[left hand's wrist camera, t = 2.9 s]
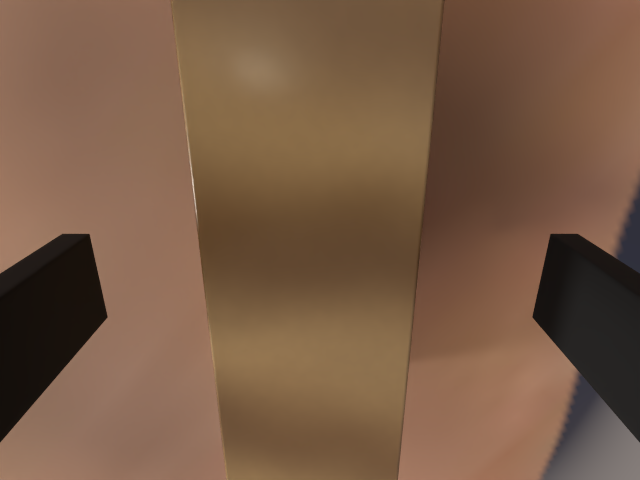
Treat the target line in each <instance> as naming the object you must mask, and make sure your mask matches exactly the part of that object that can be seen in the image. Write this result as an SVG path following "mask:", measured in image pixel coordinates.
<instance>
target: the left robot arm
mask: <svg viewBox="0 0 640 480" xmlns="http://www.w3.org/2000/svg"><path fill="white" fill-rule="evenodd" d="M106 318H107V312H106V308H105V303H104V299H103V294H102V289H101V285H100V280H99V276H98V271H97V267H96V262H95V258H94V253H93V248H92V244H91V239H90V235H89V234H62V235H60V236H58V237H57V238H55V239H54V240H52V241H51V242H49V243H47V244H46V245H44V246H43V247H41V248H40V249H38V250H37V251H35V252H33V253H32V254H30V255H29V256H27V257H26V258H24V259H22V260H21V261H19V262H18V263H16V264H15V265H13V266H11V267H10V268H8V269H7V270H5V271H4V272H2V273H0V442H1V441H2V440H3V439H4V437H5V436H6V435H7V434H8V433H9V432H10V430H11V429H12V428H13V427H14V426H15V425H16V423H17V422H18V421H19V420H20V419H21V418H22V416H23V415H24V414H25V413H26V412H27V411H28V409H29V408H30V407H31V406H32V405H33V404H34V402H35V401H36V400H37V399H38V398H39V397H40V395H41V394H42V393H43V392H44V391H45V390H46V388H47V387H48V386H49V385H50V384H51V383H52V381H53V380H54V379H55V378H56V377H57V376H58V374H59V373H60V372H61V371H62V370H63V369H64V367H65V366H66V365H67V364H68V363H69V362H70V360H71V359H72V358H73V357H74V356H75V355H76V353H77V352H78V351H79V350H80V349H81V348H82V346H83V345H84V344H85V343H86V342H87V341H88V339H89V338H90V337H91V336H92V335H93V334H94V332H95V331H96V330H97V329H98V328H99V327H100V325H101V324H102V323H103V322H104V321H105V320H106ZM533 318H534V320H535V321H536V322H537V323H538V324H539V325H540V327H541V328H542V329H543V330H544V331H545V332H546V334H547V335H548V336H549V337H550V338H551V339H552V341H553V342H554V343H555V344H556V345H557V346H558V348H559V349H560V350H561V351H562V352H563V353H564V355H565V356H566V357H567V358H568V359H569V360H570V362H571V363H572V364H573V365H574V366H575V367H576V369H577V370H578V371H579V372H580V373H581V374H582V376H583V377H584V378H585V379H586V380H587V381H588V383H589V384H590V385H591V386H592V387H593V388H594V390H595V391H596V392H597V393H598V394H599V395H600V397H601V398H602V399H603V400H604V401H605V402H606V404H607V405H608V406H609V407H610V408H611V409H612V411H613V412H614V413H615V414H616V415H617V416H618V418H619V419H620V420H621V421H622V422H623V423H624V425H625V426H626V427H627V428H628V429H629V430H630V432H631V433H632V434H633V435H634V436H635V437H636V439H637V440H638V441H639V442H640V274H639V273H638V272H636V271H635V270H633V269H632V268H630V267H628V266H627V265H625V264H624V263H622V262H621V261H619V260H618V259H616V258H614V257H613V256H611V255H610V254H608V253H607V252H605V251H603V250H602V249H600V248H599V247H597V246H596V245H594V244H593V243H591V242H589V241H588V240H586V239H585V238H583V237H582V236H580V235H578V234H551V235H550V239H549V244H548V248H547V253H546V258H545V262H544V267H543V271H542V276H541V280H540V285H539V289H538V294H537V299H536V303H535V308H534V312H533Z"/></svg>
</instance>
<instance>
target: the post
mask: <svg viewBox="0 0 640 480" xmlns="http://www.w3.org/2000/svg"><path fill="white" fill-rule="evenodd" d="M171 8H172V17H173V26H174V34H175V43H176V51H177V60H178V68H179V77H180V85H181V94H182V103H183V111H184V120H185V128H186V137H187V145H188V154H189V163H190V171H191V180H192V188H193V197H194V205H195V214H196V222H197V231H198V240H199V248H200V257H201V265H202V274H203V282H204V291H205V300H206V308H207V317H208V325H209V334H210V342H211V351H212V359H213V368H214V377H215V385H216V394H217V402H218V411H219V419H220V428H221V436H222V445H223V454H224V462H225V471H226V479H227V480H398V472H399V462H400V452H401V441H402V431H403V421H404V410H405V400H406V390H407V380H408V369H409V359H410V349H411V338H412V328H413V318H414V308H415V297H416V287H417V277H418V267H419V256H420V246H421V236H422V225H423V215H424V205H425V195H426V184H427V174H428V164H429V153H430V143H431V133H432V123H433V112H434V102H435V92H436V81H437V71H438V61H439V51H440V40H441V30H442V20H443V9H444V0H171Z"/></svg>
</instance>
